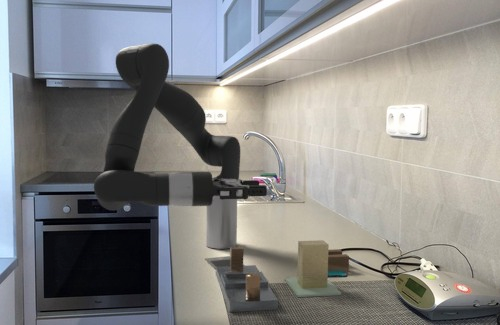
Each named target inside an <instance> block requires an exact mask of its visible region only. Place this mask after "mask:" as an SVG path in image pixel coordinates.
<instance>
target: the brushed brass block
mask: <svg viewBox="0 0 500 325" xmlns="http://www.w3.org/2000/svg"><path fill="white" fill-rule="evenodd" d="M297 242H298V243H297V245H298V246H297V249H298V250H297V277H298V278H297V277H296V278H297V283H298V284H299V285H300V287H301V288H322V287H327V281H328V280H329V279H328V250H329V243H328V242H326V241H324V240H321V239H319V240H298V241H297Z"/></svg>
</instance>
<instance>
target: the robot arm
mask: <svg viewBox="0 0 500 325" xmlns="http://www.w3.org/2000/svg"><path fill="white" fill-rule="evenodd" d="M115 68H116V70H117V73H118V75H119V77H120V78H121V79H122V81H124V83H125V84H126V85H127V86H128V87H130V88H131V89H133V91H135V93H134V95H133V96H132V98H131V100H130V101H129V103H127V105H126V106H125V108H123V110H122V111H121V112H120V114H119V115H117V117H116V120H115V121H114V124H113V125H112V128H111V130H110V134H109V137H108V141H107V145H106V149H105V153H104V158H105V159H104V161H105V162H104V163H105V164H104V168H103V172H102V173H100V174H99V175H98V176H96V179H94V183H93V191H94V194H95V197H96V198H97V201H98V203H99V204H100V206H101V207H102V208H105V210H108V211H118V210H121V209H122V208H124V207H125V205H126V204H127V203H142V204H143V205H145V206H149V207H167V206H170V207H181V208H182V207H184V208H185V207H206V229H205V230H206V232H205V234H206V235H205V236H206V239H205V241H206V242H205V243H206V244H205V245H206V247H208V248H211V249H217V250H218V249H221V250H223V249H224V250H225V249H230V247H237V243H238V242H237V241H238V240H237V239H238V236H237V235H238V231H237V230H238V200H247V199H249V198H250V197H266V196H267V194H268V192H267V191H268V188H267V186H266V185H260V181H259V180H258V179H256V180H255V179H254V180H253V179H249V180H247V179H246V180H243V179H240V167H241V166H240V165H241V145H240V142H239V139H238V138H237V137H235V136H232V135H215V134H211V133H210V132H209V131H208V130H207V129H206V128H205V127H206V121H207V118H206V111H205V109H203V107H202V105H201V104H200V103H199V102H198V101H197V99H195V97H194V96H192V95H191V94H190V93H189V92H187V91H186V90H183V89H182V88H180V87H178V86H175V85H174V84H171V83H169V82H166V80H167V78H168V74H169V71H170V60H169V55H168V52H167V51H166V49H165V47H163V46H162V45H161V44H159V43H145V44H138V45H131V46H127V47H124V48H122V49H120V50H119V51H118V52H117V54H116V57H115ZM154 108H155V109H156V110H157V111H158V112H159V113H160V114H161V115H162V116H163V117H164V118H165V120H166V121H168V123H169V124H170V125H171V126H172V127H173V128H174V129H175V130H176V131H177V132H179V133H180V135H182V136H183V138H185V140H186V141H187V142H188V143H189V144H190V145H191V147H192V148H193V149H194V151H195V152H196V154H198V156H199V157H200V159H201V160H202V162H204V163H205V164H206V165H208V166H210V167H211V166H212V167H220V168H221V171H220V173H219V174H218V175H217V176H214V177H213V175H212V174H213V173H212V172H210V171H180V172H179V171H177V172H171V173H168V172H167V173H143V172H140V171H139V172H138V171H135V169H136V164H137V162H138V158H139V154H140V150H141V146H142V143H143V137H144V134H145V131H146V127H147V124H148V122H149V120H150V117H151V115H152V113H153V110H154Z"/></svg>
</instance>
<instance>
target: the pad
mask: <svg viewBox="0 0 500 325" xmlns="http://www.w3.org/2000/svg"><path fill="white" fill-rule="evenodd" d="M297 278H298V276H297V277H284V281H285V283H287V285H288V287H289V288H290V289H291V290H292V292H293V293H294V294H295V296H296V297H297V298H307V297H312V298H313V297H328V296H330V297H332V296H342V292H341V291H340V290H339V289H338V288H337V287H336V286H335V285H334V284H333V283H332V282H331V281H330V280H329V279H328V281H327V287H322V288H301V287H300V285H299V284H298V283H297Z"/></svg>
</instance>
